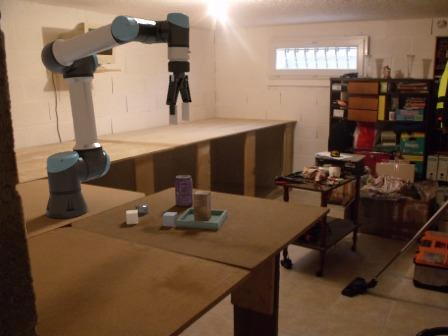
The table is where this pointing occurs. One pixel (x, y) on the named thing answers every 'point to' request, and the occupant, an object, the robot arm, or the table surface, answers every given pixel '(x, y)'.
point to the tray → (213, 223)
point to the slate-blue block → (170, 219)
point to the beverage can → (183, 190)
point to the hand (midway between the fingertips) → (179, 122)
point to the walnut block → (202, 205)
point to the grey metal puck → (142, 209)
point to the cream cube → (132, 216)
